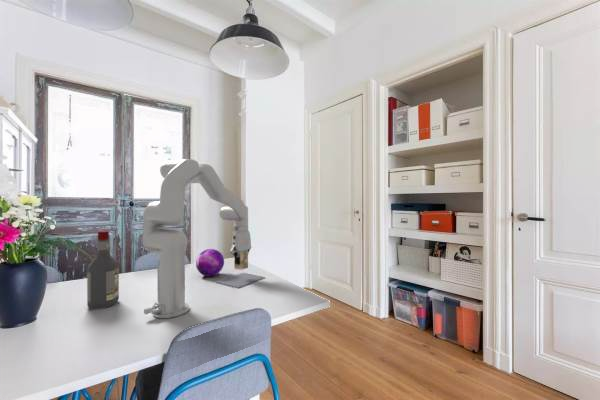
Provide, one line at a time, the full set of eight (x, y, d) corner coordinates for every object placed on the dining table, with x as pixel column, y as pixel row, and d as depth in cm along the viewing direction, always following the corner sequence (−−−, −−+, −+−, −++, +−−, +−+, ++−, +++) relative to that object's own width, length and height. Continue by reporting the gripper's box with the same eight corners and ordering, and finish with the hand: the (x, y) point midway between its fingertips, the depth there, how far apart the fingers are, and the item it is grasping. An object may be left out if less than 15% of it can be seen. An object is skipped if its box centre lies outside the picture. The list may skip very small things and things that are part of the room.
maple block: (241, 269, 140) (241, 250, 140) (234, 268, 142) (234, 249, 142) (248, 267, 144) (247, 249, 144) (241, 266, 147) (241, 248, 146)
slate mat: (238, 288, 130) (238, 287, 130) (215, 282, 139) (215, 281, 139) (264, 278, 147) (264, 277, 147) (243, 273, 156) (243, 272, 156)
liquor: (84, 310, 105) (84, 233, 105) (95, 301, 114) (95, 230, 113) (111, 307, 107) (111, 232, 107) (120, 299, 116) (120, 230, 116)
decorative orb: (229, 274, 154) (229, 248, 154) (208, 281, 141) (208, 252, 141) (212, 270, 162) (212, 245, 162) (190, 276, 149) (190, 249, 149)
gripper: (234, 231, 134) (234, 267, 134) (257, 227, 148) (257, 260, 148) (223, 230, 138) (224, 265, 138) (247, 226, 152) (247, 259, 152)
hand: (241, 262), depth 143 cm, fingers closed on maple block, 5 cm apart
